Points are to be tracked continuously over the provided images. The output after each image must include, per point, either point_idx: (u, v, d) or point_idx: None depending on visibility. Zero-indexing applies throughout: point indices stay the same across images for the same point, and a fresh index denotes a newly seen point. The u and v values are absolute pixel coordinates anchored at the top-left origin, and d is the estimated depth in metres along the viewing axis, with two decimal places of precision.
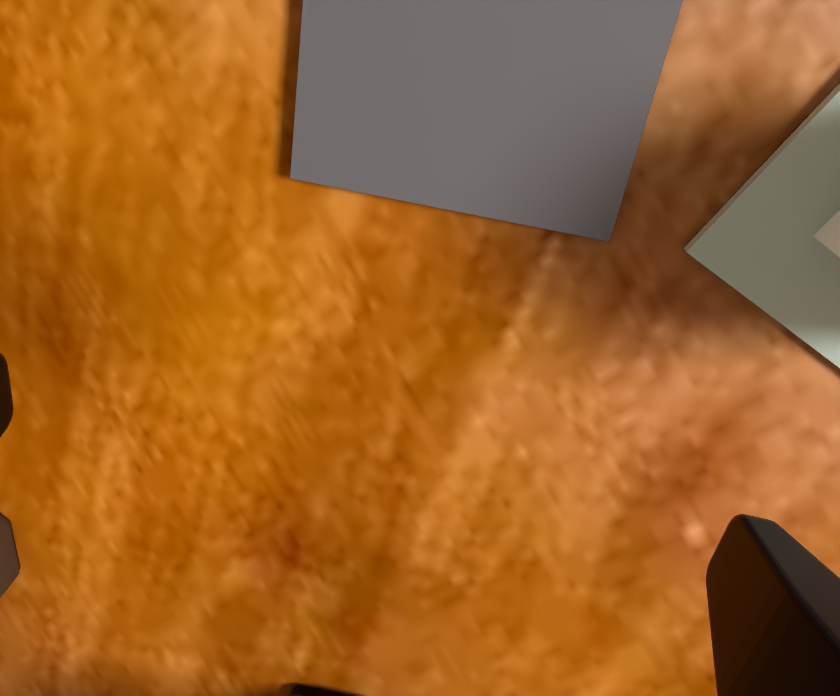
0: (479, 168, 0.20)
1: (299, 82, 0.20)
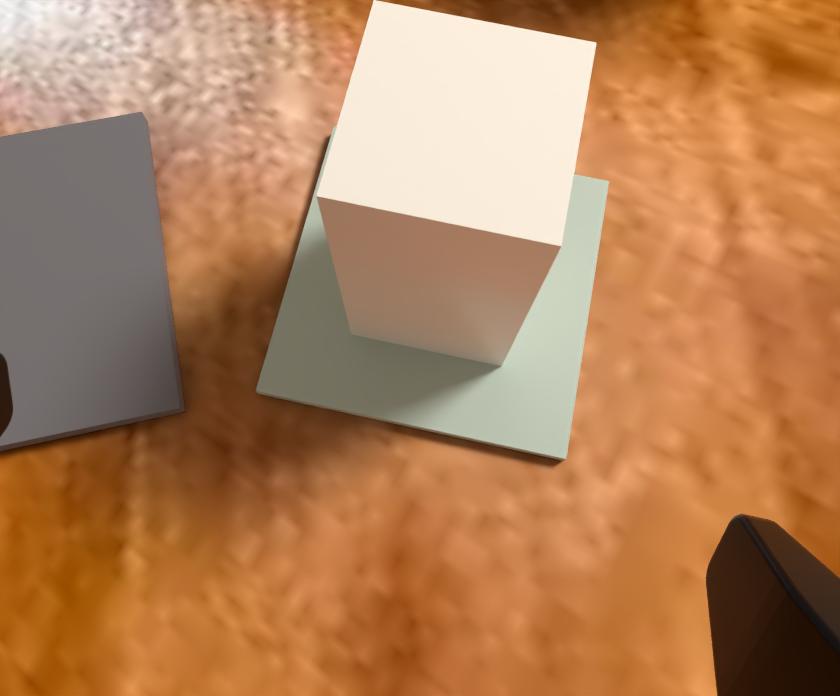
0: (35, 393, 0.21)
1: None
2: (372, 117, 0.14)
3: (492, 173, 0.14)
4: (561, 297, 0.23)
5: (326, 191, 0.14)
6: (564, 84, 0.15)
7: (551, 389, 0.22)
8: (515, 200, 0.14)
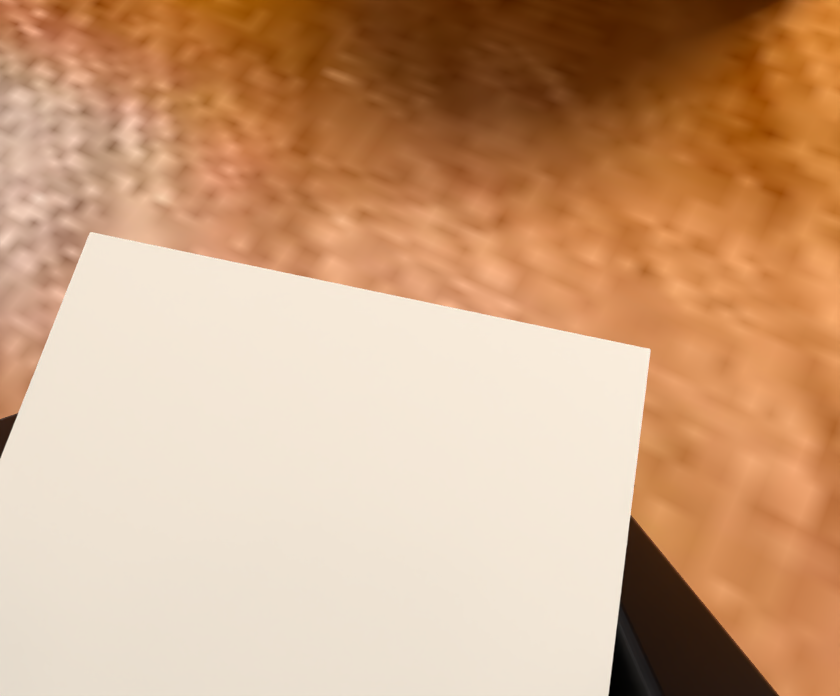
0: None
1: None
2: (37, 595, 0.05)
3: None
4: None
5: None
6: (568, 478, 0.06)
7: None
8: None
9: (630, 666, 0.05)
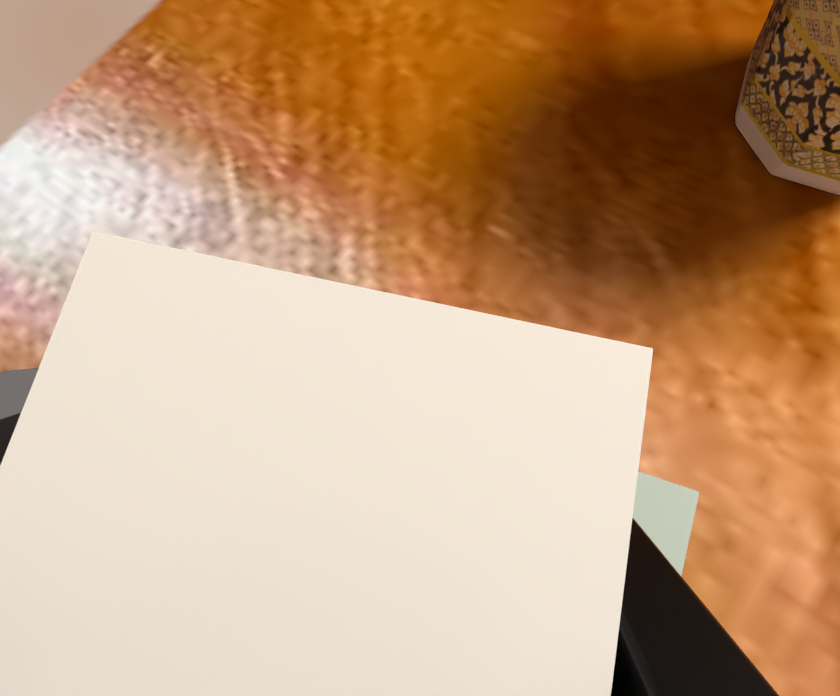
0: None
1: None
2: (40, 594, 0.05)
3: None
4: None
5: None
6: (571, 477, 0.06)
7: None
8: None
9: (630, 666, 0.05)
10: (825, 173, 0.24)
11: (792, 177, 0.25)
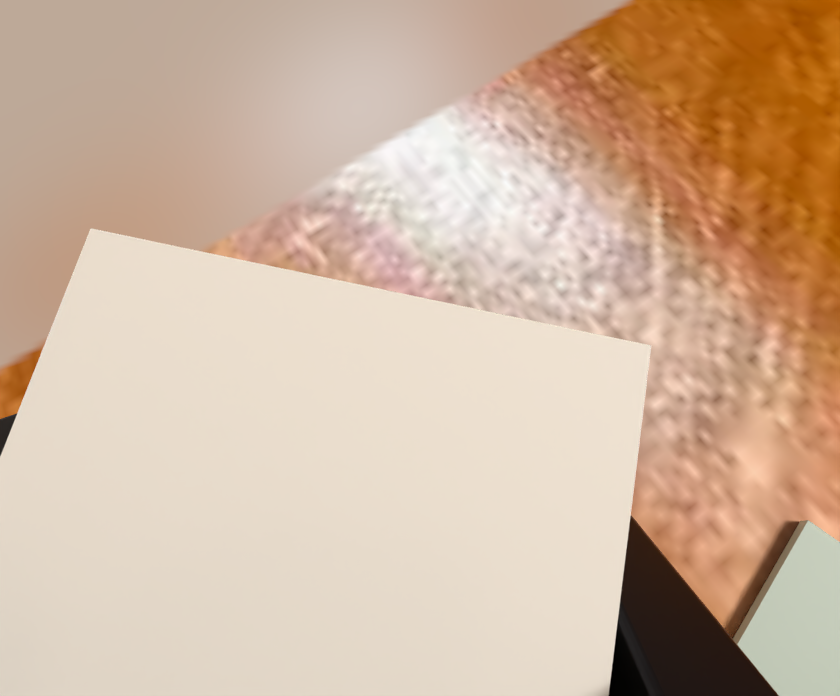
0: None
1: None
2: (38, 591, 0.05)
3: None
4: None
5: None
6: (569, 474, 0.06)
7: None
8: None
9: (630, 666, 0.05)
10: None
11: None
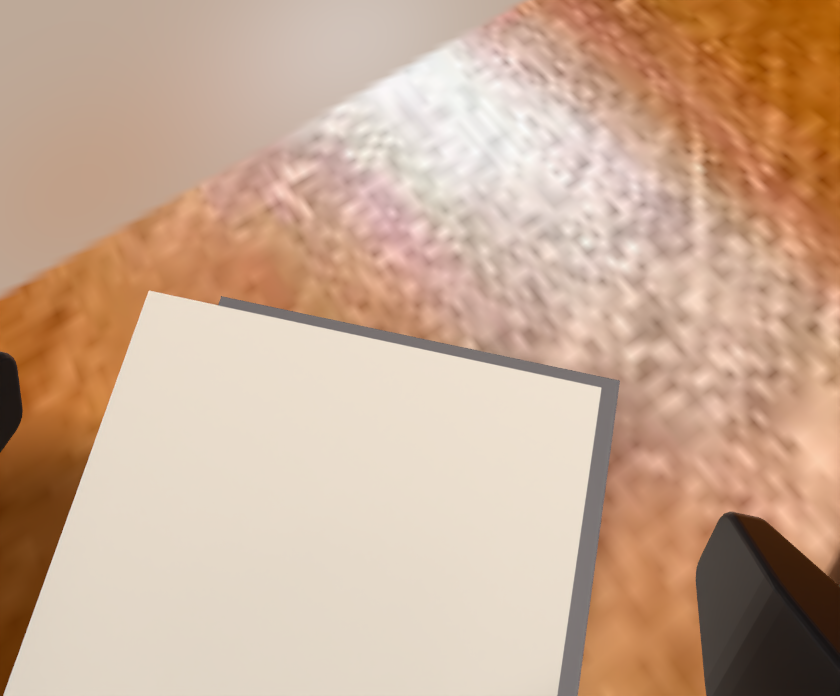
0: None
1: None
2: (115, 584, 0.07)
3: None
4: None
5: None
6: (533, 492, 0.07)
7: None
8: None
9: None
10: None
11: None
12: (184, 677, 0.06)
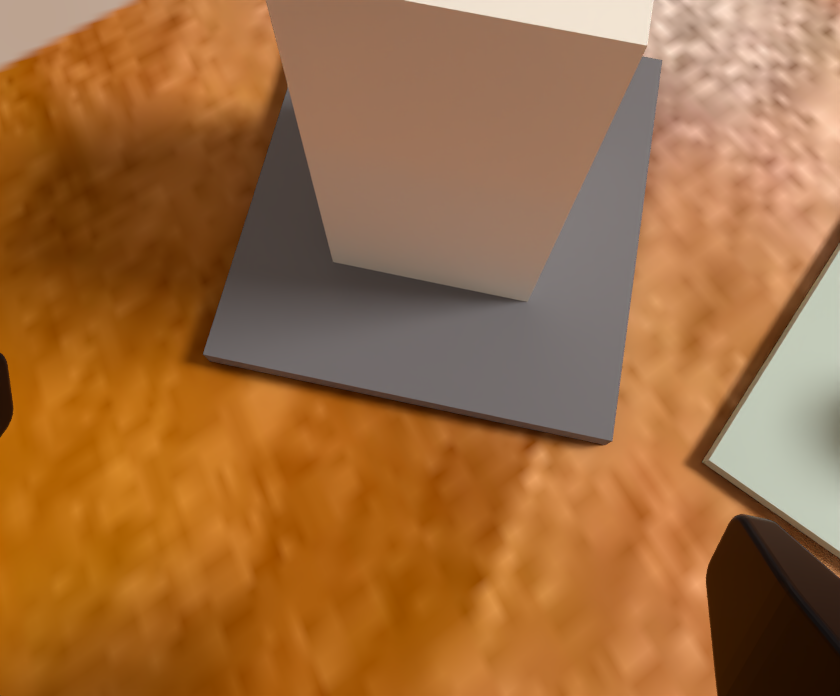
0: (445, 347, 0.17)
1: (239, 249, 0.17)
2: None
3: None
4: None
5: None
6: None
7: None
8: None
9: None
10: None
11: None
12: None
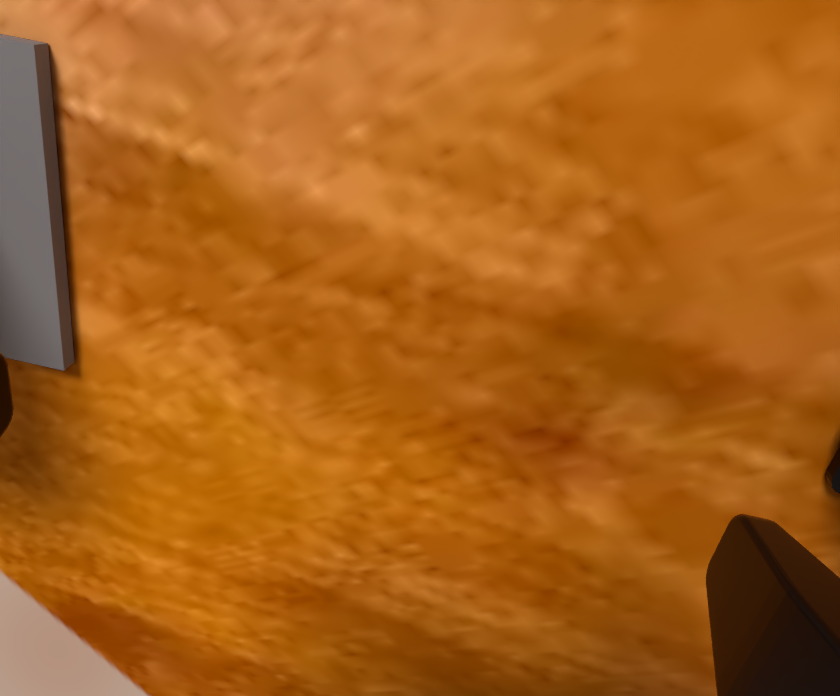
0: (2, 194, 0.20)
1: None
2: None
3: None
4: None
5: None
6: None
7: None
8: None
9: None
10: None
11: None
12: None
